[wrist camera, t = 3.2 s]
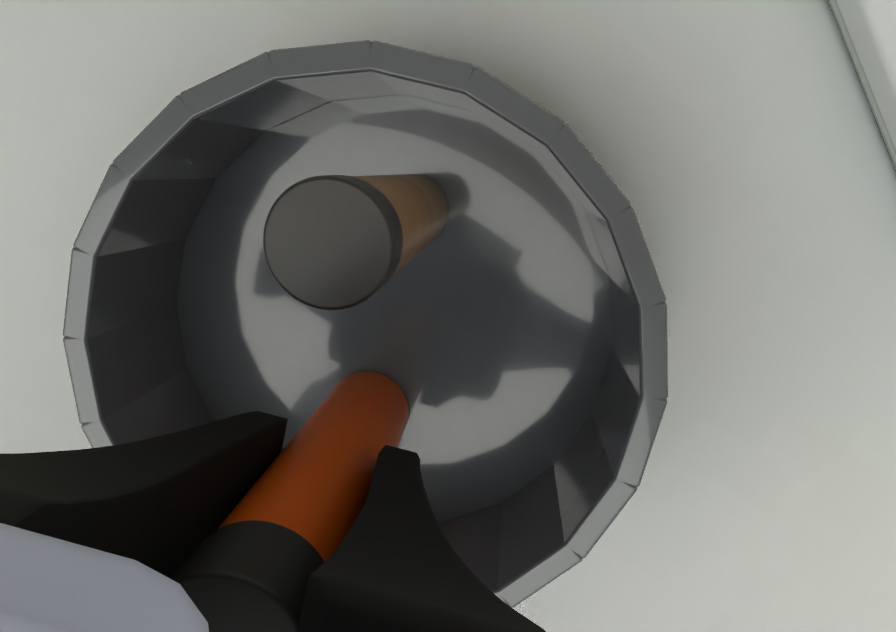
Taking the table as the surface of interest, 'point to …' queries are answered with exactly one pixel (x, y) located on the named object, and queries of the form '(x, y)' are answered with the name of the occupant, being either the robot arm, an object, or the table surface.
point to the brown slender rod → (350, 234)
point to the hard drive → (873, 56)
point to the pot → (386, 293)
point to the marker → (295, 511)
